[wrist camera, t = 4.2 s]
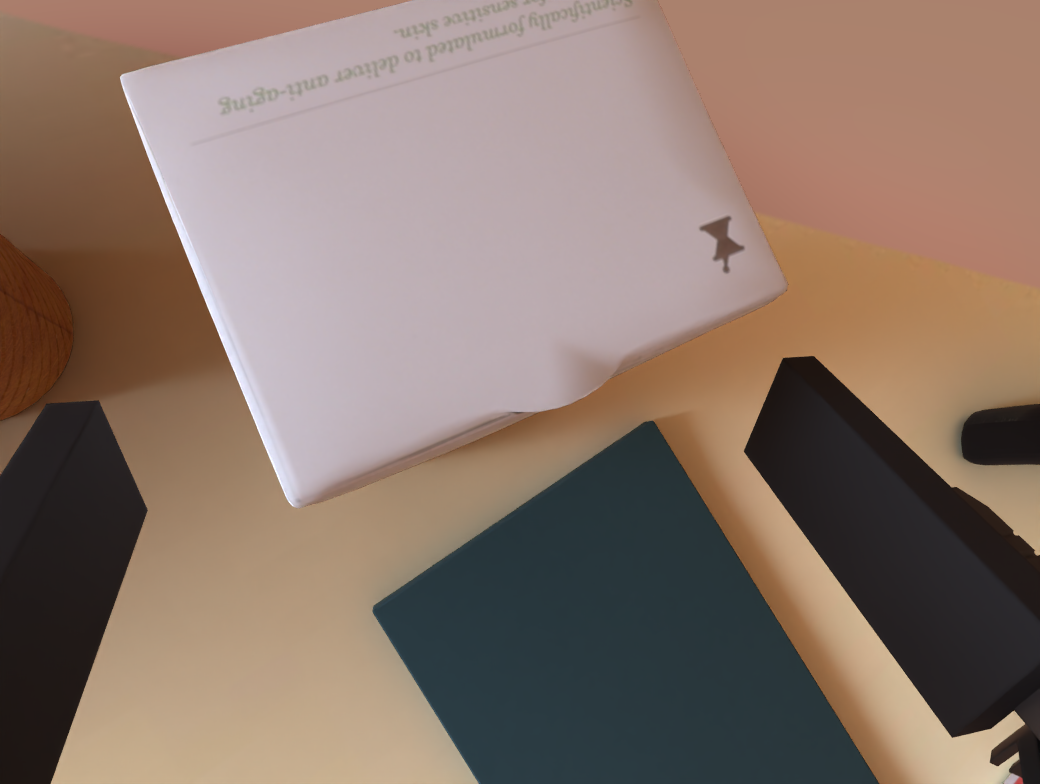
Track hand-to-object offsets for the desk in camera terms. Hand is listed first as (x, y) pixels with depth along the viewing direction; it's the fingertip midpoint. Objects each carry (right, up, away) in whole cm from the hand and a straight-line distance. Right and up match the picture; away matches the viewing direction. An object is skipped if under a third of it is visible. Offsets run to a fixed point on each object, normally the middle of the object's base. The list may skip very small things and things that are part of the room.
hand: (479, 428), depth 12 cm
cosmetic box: (-3, +2, +12) cm, 12 cm away
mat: (+6, -12, +11) cm, 18 cm away
